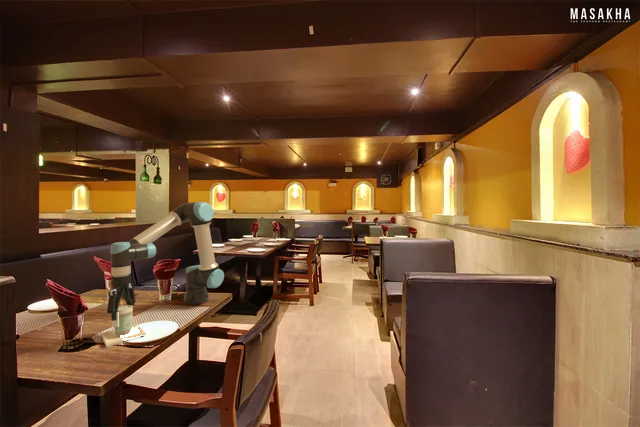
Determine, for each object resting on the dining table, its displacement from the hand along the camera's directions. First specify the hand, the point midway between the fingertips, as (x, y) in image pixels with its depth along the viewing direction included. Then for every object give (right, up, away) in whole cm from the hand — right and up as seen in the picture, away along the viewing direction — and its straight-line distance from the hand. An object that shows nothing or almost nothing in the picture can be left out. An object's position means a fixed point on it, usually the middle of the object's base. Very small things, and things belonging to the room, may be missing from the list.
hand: (122, 322), depth 135 cm
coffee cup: (0, -5, 0) cm, 5 cm away
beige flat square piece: (0, -7, 0) cm, 7 cm away
